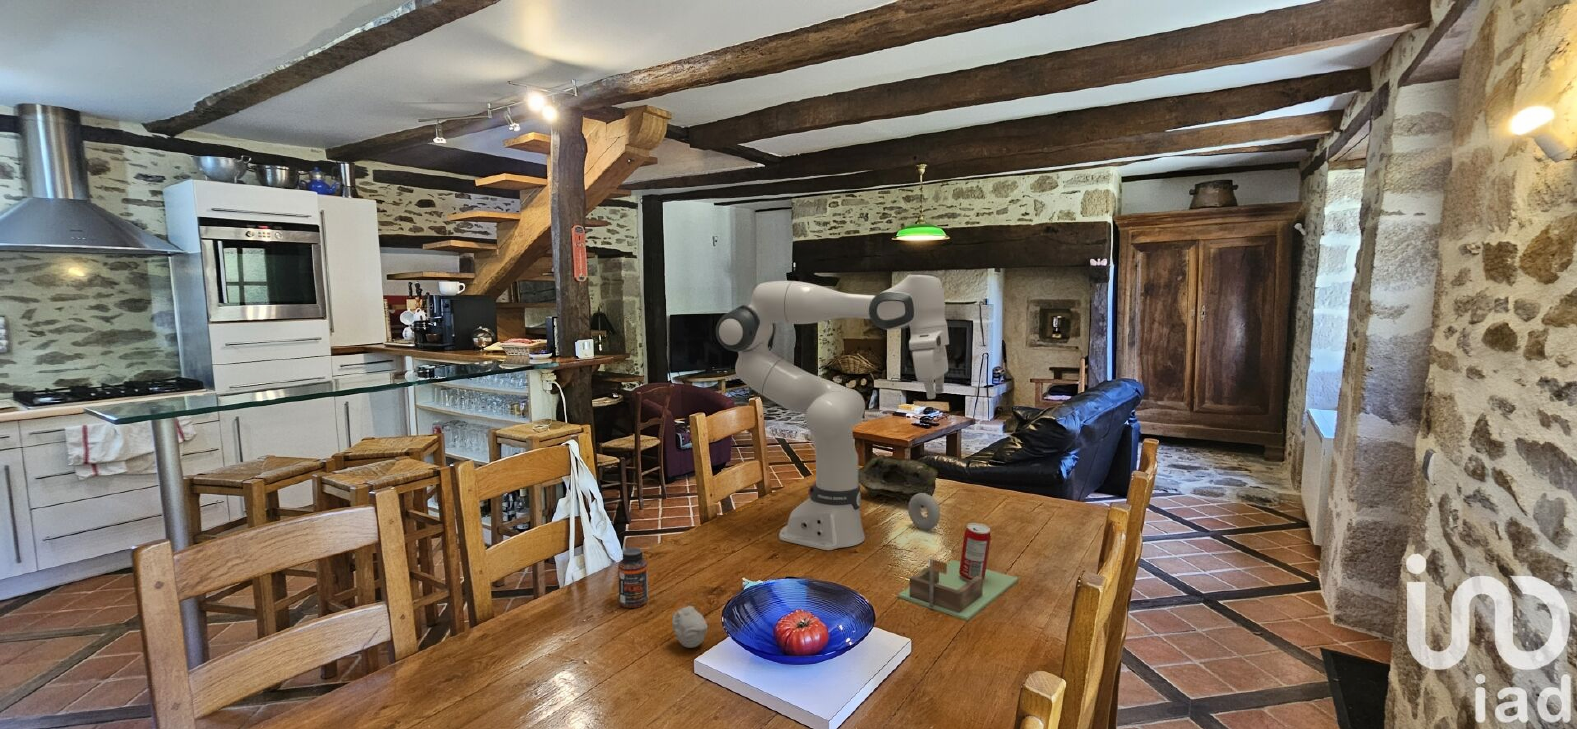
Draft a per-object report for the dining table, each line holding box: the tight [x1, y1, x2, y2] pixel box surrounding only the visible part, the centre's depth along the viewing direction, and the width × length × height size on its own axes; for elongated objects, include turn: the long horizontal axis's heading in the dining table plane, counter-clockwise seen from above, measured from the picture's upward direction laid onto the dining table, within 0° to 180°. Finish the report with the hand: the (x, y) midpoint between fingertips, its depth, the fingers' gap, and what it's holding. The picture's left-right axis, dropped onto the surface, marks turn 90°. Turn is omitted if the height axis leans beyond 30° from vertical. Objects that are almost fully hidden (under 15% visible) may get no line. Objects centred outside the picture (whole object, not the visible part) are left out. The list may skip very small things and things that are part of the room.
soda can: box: [959, 522, 992, 581], centre depth 149 cm, size 6×6×12 cm
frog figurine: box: [671, 605, 709, 649], centre depth 124 cm, size 6×7×7 cm
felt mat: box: [897, 559, 1019, 622], centre depth 146 cm, size 24×16×1 cm, turn 138°
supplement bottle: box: [617, 547, 649, 609], centre depth 141 cm, size 6×6×11 cm
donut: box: [907, 493, 941, 531], centre depth 182 cm, size 10×4×10 cm, turn 40°
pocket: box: [909, 557, 983, 613], centre depth 140 cm, size 12×11×10 cm
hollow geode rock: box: [858, 454, 939, 508], centre depth 208 cm, size 28×13×15 cm
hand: (935, 395), depth 164 cm, fingers open, 8 cm apart
